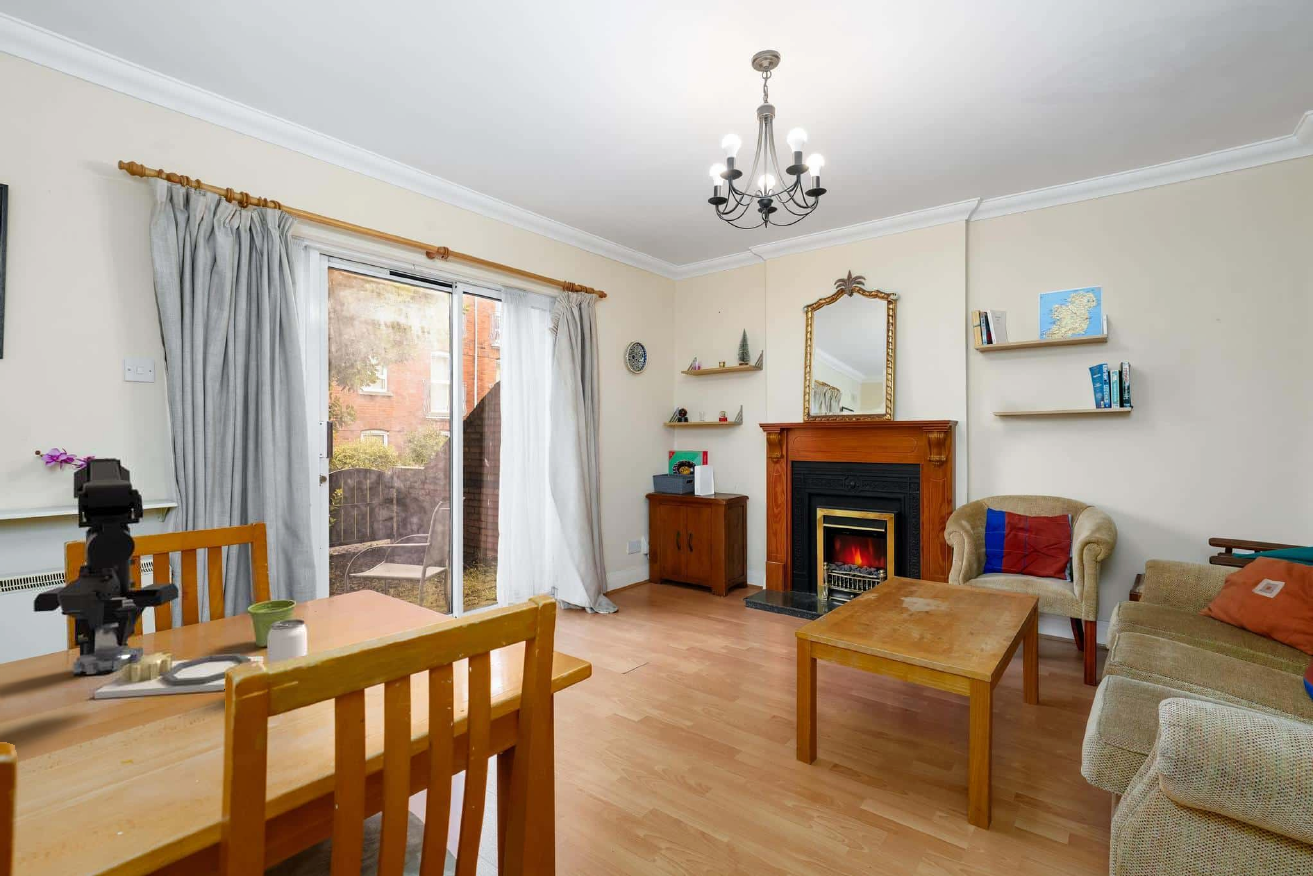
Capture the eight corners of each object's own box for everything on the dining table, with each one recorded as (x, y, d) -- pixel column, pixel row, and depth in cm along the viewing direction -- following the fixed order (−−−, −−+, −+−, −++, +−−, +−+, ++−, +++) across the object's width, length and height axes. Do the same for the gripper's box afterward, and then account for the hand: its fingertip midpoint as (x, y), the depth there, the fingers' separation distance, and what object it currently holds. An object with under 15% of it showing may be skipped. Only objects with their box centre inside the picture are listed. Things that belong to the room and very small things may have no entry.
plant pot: (304, 641, 141) (304, 603, 140) (260, 653, 133) (260, 614, 132) (283, 633, 146) (283, 597, 145) (239, 645, 138) (239, 607, 137)
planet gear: (58, 675, 100) (58, 636, 100) (97, 655, 109) (97, 619, 109) (121, 672, 101) (120, 633, 101) (154, 652, 110) (154, 617, 110)
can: (288, 695, 112) (288, 630, 112) (258, 691, 113) (258, 628, 113) (314, 681, 118) (314, 620, 118) (286, 678, 120) (286, 617, 120)
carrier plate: (94, 698, 110) (94, 675, 110) (144, 668, 124) (144, 648, 124) (229, 690, 114) (229, 667, 114) (263, 661, 128) (263, 642, 128)
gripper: (4, 568, 95) (4, 667, 95) (139, 564, 99) (140, 660, 99) (59, 554, 106) (60, 643, 106) (179, 551, 110) (180, 637, 110)
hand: (109, 646), depth 105 cm, fingers closed on planet gear, 4 cm apart
